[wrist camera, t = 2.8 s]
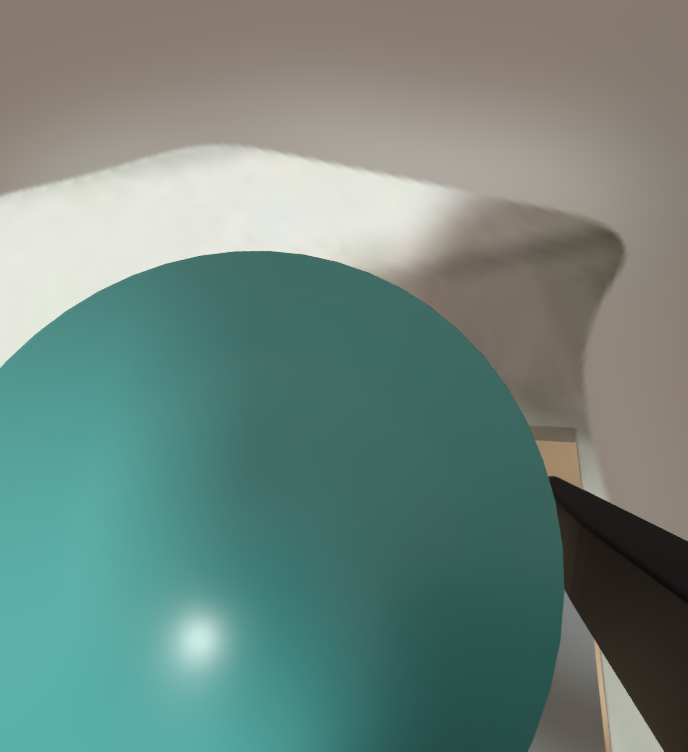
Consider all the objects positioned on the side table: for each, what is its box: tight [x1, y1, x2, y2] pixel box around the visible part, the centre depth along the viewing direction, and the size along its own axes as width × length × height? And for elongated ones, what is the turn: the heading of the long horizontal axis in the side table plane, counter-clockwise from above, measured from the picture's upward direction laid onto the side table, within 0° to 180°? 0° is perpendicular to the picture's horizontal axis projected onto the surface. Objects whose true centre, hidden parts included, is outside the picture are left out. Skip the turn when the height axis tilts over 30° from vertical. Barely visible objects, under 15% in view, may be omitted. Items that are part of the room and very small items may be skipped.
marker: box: [0, 251, 564, 752], centre depth 9 cm, size 5×5×13 cm
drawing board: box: [528, 440, 611, 752], centre depth 14 cm, size 18×13×1 cm
